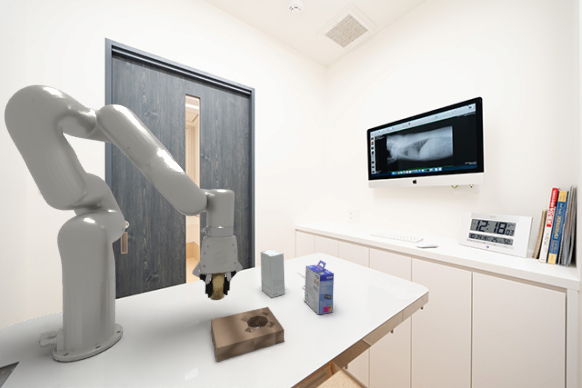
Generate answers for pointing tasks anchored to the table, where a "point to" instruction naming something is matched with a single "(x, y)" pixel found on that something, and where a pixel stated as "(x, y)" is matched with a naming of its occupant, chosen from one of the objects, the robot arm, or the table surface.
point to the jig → (245, 333)
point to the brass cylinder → (217, 286)
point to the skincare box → (272, 272)
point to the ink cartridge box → (319, 288)
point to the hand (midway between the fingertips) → (217, 293)
